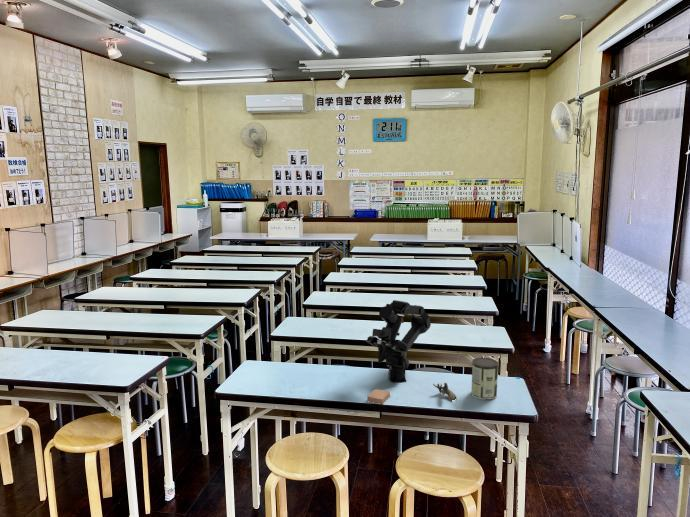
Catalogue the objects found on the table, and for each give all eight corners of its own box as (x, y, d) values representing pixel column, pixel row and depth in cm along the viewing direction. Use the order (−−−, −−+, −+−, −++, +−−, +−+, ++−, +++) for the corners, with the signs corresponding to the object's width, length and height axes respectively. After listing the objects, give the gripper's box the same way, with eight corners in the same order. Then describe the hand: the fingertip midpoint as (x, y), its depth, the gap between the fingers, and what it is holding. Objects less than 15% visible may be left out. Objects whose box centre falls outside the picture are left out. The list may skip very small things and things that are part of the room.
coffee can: (482, 387, 216) (484, 355, 214) (502, 396, 207) (504, 363, 205) (465, 393, 210) (466, 360, 208) (484, 402, 202) (486, 368, 200)
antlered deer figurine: (429, 393, 208) (444, 397, 200) (435, 376, 210) (450, 380, 202) (442, 399, 211) (457, 404, 203) (448, 383, 213) (463, 387, 205)
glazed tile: (375, 388, 210) (367, 396, 202) (390, 391, 207) (382, 399, 200) (375, 394, 210) (367, 402, 203) (389, 397, 207) (382, 405, 200)
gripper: (365, 318, 218) (351, 351, 213) (396, 321, 204) (383, 357, 199) (381, 329, 225) (368, 362, 219) (413, 333, 211) (400, 368, 205)
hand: (379, 362), depth 210 cm, fingers closed
